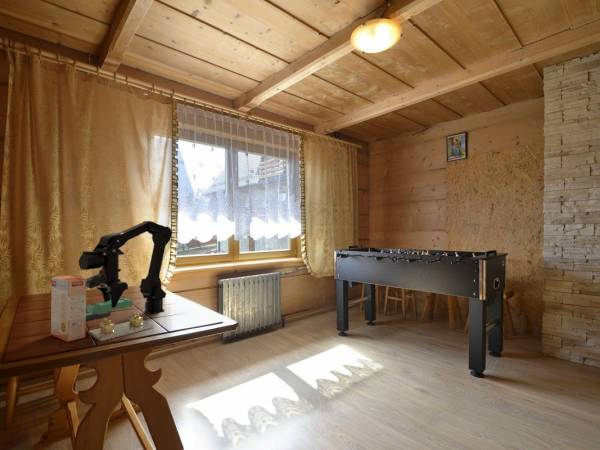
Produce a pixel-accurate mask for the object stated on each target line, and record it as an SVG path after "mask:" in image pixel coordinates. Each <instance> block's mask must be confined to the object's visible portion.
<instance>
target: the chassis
mask: <svg viewBox="0 0 600 450" xmlns="http://www.w3.org/2000/svg"><path fill="white" fill-rule="evenodd" d="M143 317H144V316H141V315H140V313H139V312H138V313H136V311H132V312H131V315H129V321H125V322H121V323H117V324H115V322H112V319H108V317H102V318H103V320H102V321H101V322H100V323H99V328H96V329H91V330H88V335H90V336H91V337H93V338H95V339H96V340H98V341H99V342H104V341H107V340H111V338H112V339H114V338H115V337H116V338H118V337H122V336H126V335H130V334H134V333H139V332H143V331H146V330H149V329H153V328H154V327H155V325H154V324H152V323H151V322H147V321H145V320H143Z"/></svg>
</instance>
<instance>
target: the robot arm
mask: <svg viewBox="0 0 600 450" xmlns="http://www.w3.org/2000/svg"><path fill="white" fill-rule="evenodd" d="M144 233H148V234H149V235H151V239H152V242H153V248H152V253H151V258H150V262H149V267H148V270H147V271H148V272H147V275H146V277H145V278H141V280H140V285H139V288H140V289H139V291H140V294H142V296H143V299H145V302H144V313H147V314H150V315H151V314H156V313H160V312H161V313H163V312H165V309H164V306H163V305H164V304H163V303H164V300H163V299H165V298H166V297H167V296H166V295H167V292H166V291H165V290H164V289H162V280H161V277H160V276H161V270H162V269H161V268H162V265H163V260H164V255H165V250H166V246H167V244H168V243H169V242H170V240H171V239H172V236H173V230H172V229H171V228H170V226H164V225H161V224H160V223H156V222H154V221H152V220H143V221H142V222H141V223H138V224H136V225H134V226H130V227H129V228H127V229H125V230H124V229H123V230H122V231H120V232H119V231H118V232H114V233H109V234H106V235H105V234H104V235H102V236H101V237H100V238H99V241H98V243H97V244H96V246H95V247H94V248H93V250H92V251H89V250H88V251H86V250H84V251H82V252H81V253H82V255H80V256H79V259H78V267H79V268H80V270H82V271H86V270H94V269H99V271H98V273H97V274H95V275H92V276H90V277H87V278H85V279H86V289H87V288H88V289H90V290H91V289H94V288H95V289H96V290H98V291H99V292H100V293H101V296H102V299H103V302H105V301H111V305H112V308H114V307H116V305H117V303H118V301H119V299H121V297H122V295H123V293H124V292H125V291H126V290H128V289H129V284H128V283H127V282H125V281H121V279H120V278H119V277H120V275H119V273H120V272H121V270H122V269H121V268H119V263H120V258H119V257H120V256H121V255H125V252H123V251H122V250H121V248H122V247H123V246H125V245H126V243H127V242H128V241H130V240H131V239H134V238H136V237H139V236H140V235H143V234H144Z"/></svg>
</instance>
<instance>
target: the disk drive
mask: <svg viewBox="0 0 600 450" xmlns="http://www.w3.org/2000/svg"><path fill="white" fill-rule="evenodd" d="M107 317H111V311H106V312H101V313H96V314H91V313H89V312H87V307H86V321H87V322H88V321H91V320H97V319H102V318H107Z"/></svg>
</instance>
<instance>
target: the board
mask: <svg viewBox="0 0 600 450" xmlns="http://www.w3.org/2000/svg"><path fill="white" fill-rule="evenodd" d="M130 307H133V300H132V299H129V298H126V297H124V298H120V299H119V301H118V303H117V305H116V307H114V308H112V305H111V300H110V301H105V302H104V301H101V302H95V303H88V304H86V308H87V312H89V313H91V314H96V313H101V312H106V311H110V312H111V311H115V310H122V309H127V308H130Z"/></svg>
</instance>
